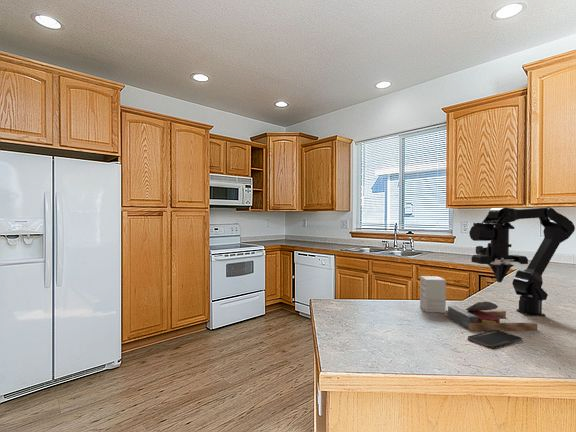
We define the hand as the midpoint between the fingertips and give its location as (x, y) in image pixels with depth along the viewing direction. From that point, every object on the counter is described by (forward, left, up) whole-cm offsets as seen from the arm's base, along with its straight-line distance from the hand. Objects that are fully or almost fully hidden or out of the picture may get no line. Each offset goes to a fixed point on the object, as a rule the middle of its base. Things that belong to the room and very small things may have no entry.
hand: (499, 282), depth 119 cm
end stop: (+20, +10, -12) cm, 26 cm away
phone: (+20, +25, -13) cm, 34 cm away
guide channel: (+11, +10, -12) cm, 19 cm away
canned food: (+13, +10, -12) cm, 20 cm away
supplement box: (+23, -5, -12) cm, 26 cm away
